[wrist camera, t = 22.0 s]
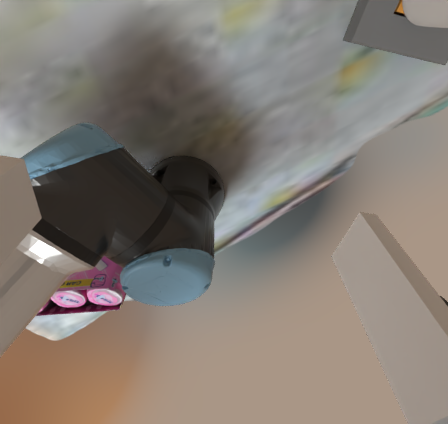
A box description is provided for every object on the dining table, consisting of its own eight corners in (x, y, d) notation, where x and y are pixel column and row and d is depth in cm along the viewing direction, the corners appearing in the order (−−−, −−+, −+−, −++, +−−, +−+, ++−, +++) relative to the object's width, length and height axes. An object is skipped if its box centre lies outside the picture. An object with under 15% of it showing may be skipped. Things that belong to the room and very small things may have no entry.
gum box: (134, 236, 58) (114, 286, 48) (144, 260, 63) (128, 310, 53) (33, 245, 60) (-8, 296, 49) (50, 267, 65) (16, 318, 54)
